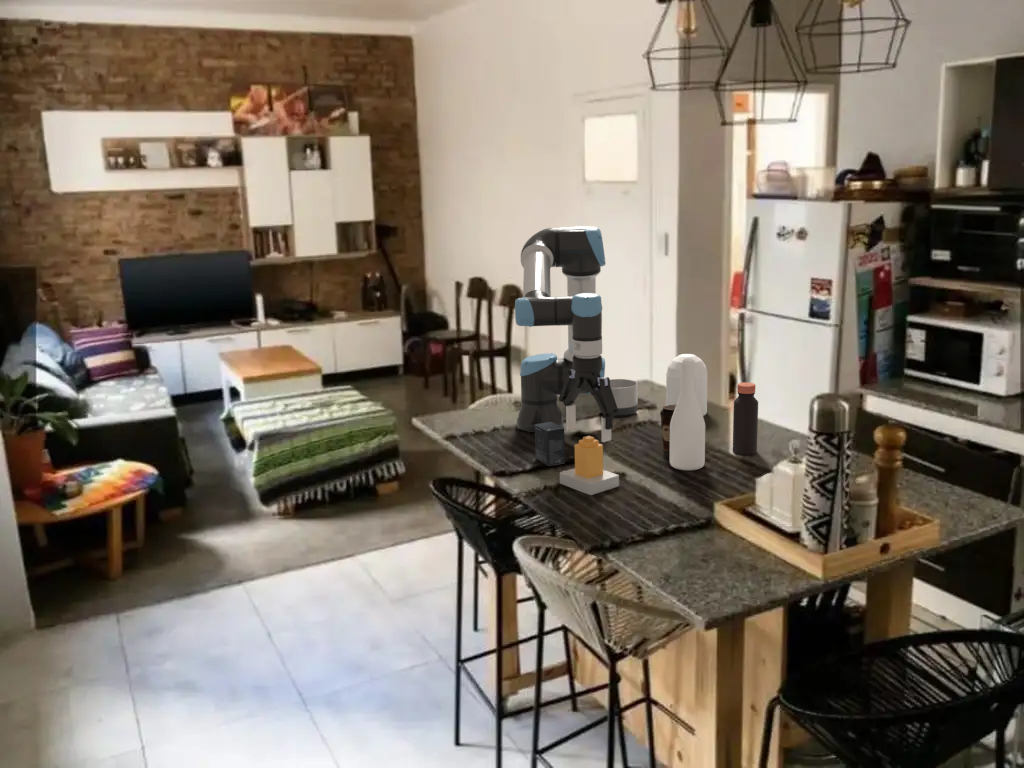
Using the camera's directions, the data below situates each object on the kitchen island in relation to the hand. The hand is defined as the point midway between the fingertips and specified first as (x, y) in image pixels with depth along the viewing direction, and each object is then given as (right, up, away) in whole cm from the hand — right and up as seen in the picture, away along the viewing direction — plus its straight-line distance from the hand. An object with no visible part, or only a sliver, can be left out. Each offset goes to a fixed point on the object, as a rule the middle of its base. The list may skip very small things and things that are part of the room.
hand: (588, 434), depth 235 cm
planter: (+16, +3, +69) cm, 71 cm away
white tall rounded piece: (+28, -10, +15) cm, 34 cm away
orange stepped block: (0, -10, +2) cm, 11 cm away
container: (+38, +3, +68) cm, 78 cm away
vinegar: (+47, -7, +25) cm, 54 cm away
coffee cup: (+28, -6, +29) cm, 40 cm away
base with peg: (0, -13, +4) cm, 14 cm away
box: (-9, -9, +23) cm, 26 cm away
